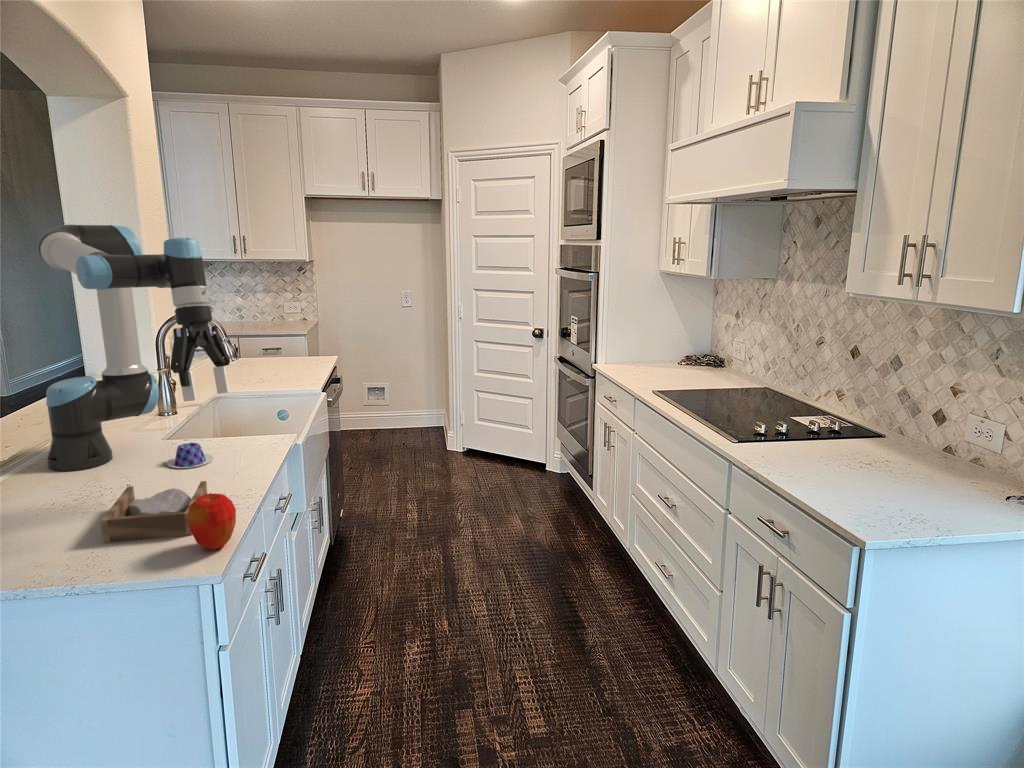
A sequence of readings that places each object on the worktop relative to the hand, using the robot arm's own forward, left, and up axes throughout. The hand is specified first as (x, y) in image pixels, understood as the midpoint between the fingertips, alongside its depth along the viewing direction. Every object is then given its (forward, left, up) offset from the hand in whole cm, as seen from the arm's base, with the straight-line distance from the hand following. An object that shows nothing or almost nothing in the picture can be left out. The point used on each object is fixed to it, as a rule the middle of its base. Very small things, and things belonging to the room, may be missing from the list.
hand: (207, 396), depth 153 cm
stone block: (+5, -10, -26) cm, 29 cm away
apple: (+26, +4, -26) cm, 37 cm away
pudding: (-30, -11, -26) cm, 42 cm away
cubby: (+10, -10, -26) cm, 30 cm away
